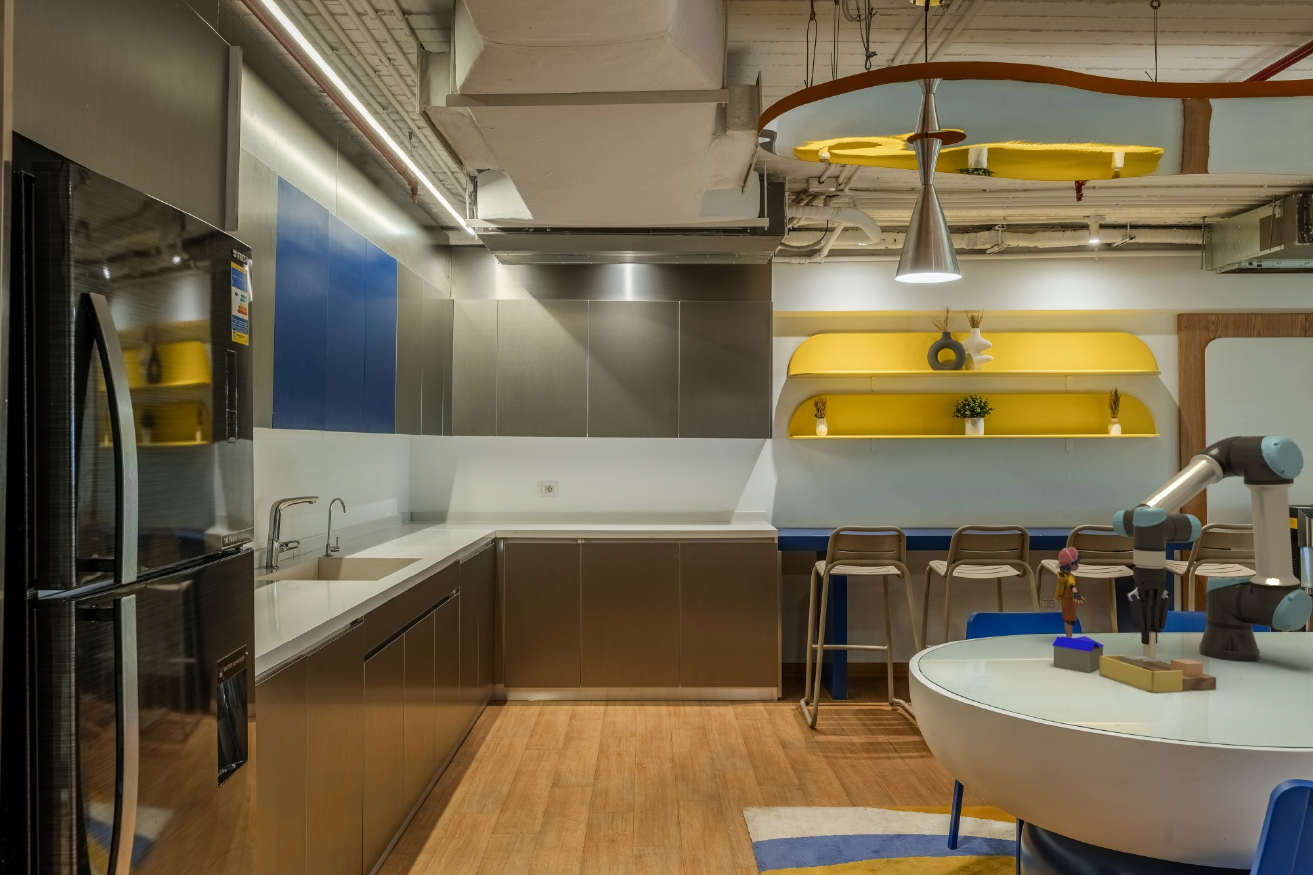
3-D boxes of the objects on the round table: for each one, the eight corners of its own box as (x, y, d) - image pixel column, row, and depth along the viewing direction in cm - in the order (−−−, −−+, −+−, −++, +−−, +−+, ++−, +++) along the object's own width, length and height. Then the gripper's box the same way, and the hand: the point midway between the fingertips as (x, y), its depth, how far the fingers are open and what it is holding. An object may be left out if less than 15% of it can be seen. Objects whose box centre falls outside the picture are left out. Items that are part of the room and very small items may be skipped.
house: (1064, 661, 254) (1064, 632, 254) (1104, 667, 246) (1104, 638, 247) (1049, 666, 246) (1050, 637, 247) (1090, 674, 239) (1091, 644, 239)
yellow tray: (1127, 673, 240) (1127, 654, 240) (1182, 691, 222) (1182, 670, 222) (1099, 674, 237) (1099, 655, 238) (1152, 692, 220) (1152, 672, 220)
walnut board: (1159, 672, 242) (1159, 660, 242) (1215, 689, 225) (1215, 677, 225) (1127, 673, 240) (1128, 662, 240) (1182, 691, 222) (1182, 678, 222)
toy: (1090, 653, 265) (1091, 551, 265) (1064, 651, 266) (1065, 550, 267) (1070, 637, 288) (1071, 543, 289) (1045, 635, 289) (1047, 542, 290)
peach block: (1186, 670, 232) (1186, 658, 232) (1202, 675, 227) (1202, 663, 227) (1170, 671, 230) (1170, 659, 230) (1186, 675, 226) (1186, 663, 226)
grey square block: (1128, 655, 237) (1119, 655, 236) (1143, 659, 232) (1133, 659, 231) (1128, 674, 237) (1118, 674, 236) (1143, 678, 232) (1133, 679, 231)
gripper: (1158, 563, 241) (1158, 652, 241) (1117, 565, 238) (1117, 654, 238) (1181, 567, 234) (1181, 658, 233) (1139, 568, 231) (1139, 661, 230)
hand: (1149, 656), depth 236 cm, fingers closed
